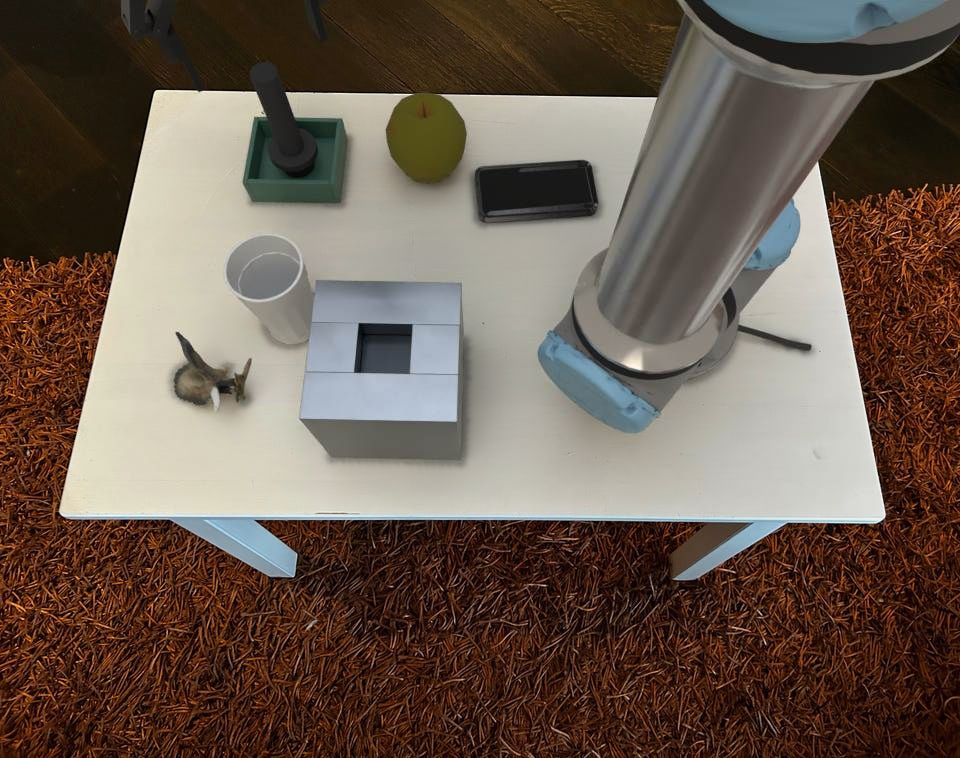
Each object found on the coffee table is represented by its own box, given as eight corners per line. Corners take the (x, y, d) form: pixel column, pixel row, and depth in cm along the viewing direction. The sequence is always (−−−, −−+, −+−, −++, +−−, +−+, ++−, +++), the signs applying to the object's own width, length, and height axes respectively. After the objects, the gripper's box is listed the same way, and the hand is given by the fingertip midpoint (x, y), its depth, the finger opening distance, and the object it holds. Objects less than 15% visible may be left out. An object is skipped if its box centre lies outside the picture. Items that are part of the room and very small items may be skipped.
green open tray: (347, 139, 86) (342, 117, 82) (340, 203, 82) (334, 184, 79) (263, 137, 86) (254, 116, 82) (252, 201, 82) (242, 182, 79)
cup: (317, 356, 75) (289, 308, 64) (251, 343, 75) (211, 293, 64) (336, 296, 78) (312, 240, 66) (272, 284, 78) (238, 226, 67)
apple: (471, 192, 83) (471, 131, 73) (395, 201, 82) (384, 140, 72) (461, 131, 87) (459, 64, 76) (388, 138, 86) (377, 72, 76)
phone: (599, 209, 81) (479, 217, 80) (597, 215, 82) (479, 223, 81) (590, 158, 84) (474, 165, 83) (588, 164, 85) (474, 171, 84)
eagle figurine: (265, 351, 74) (188, 323, 73) (242, 364, 67) (156, 334, 66) (247, 411, 75) (171, 385, 75) (222, 430, 68) (139, 401, 68)
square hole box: (464, 342, 76) (461, 282, 62) (460, 460, 70) (457, 421, 57) (343, 340, 76) (316, 279, 62) (331, 457, 70) (298, 418, 57)
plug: (331, 158, 84) (302, 64, 70) (304, 191, 82) (269, 102, 68) (293, 139, 85) (258, 43, 71) (266, 172, 83) (223, 80, 69)
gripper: (301, -258, 51) (352, -9, 71) (-18, -157, 47) (131, 79, 66) (342, -209, 49) (383, 35, 68) (10, -97, 44) (156, 129, 64)
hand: (259, 57), depth 67 cm, fingers open, 13 cm apart
